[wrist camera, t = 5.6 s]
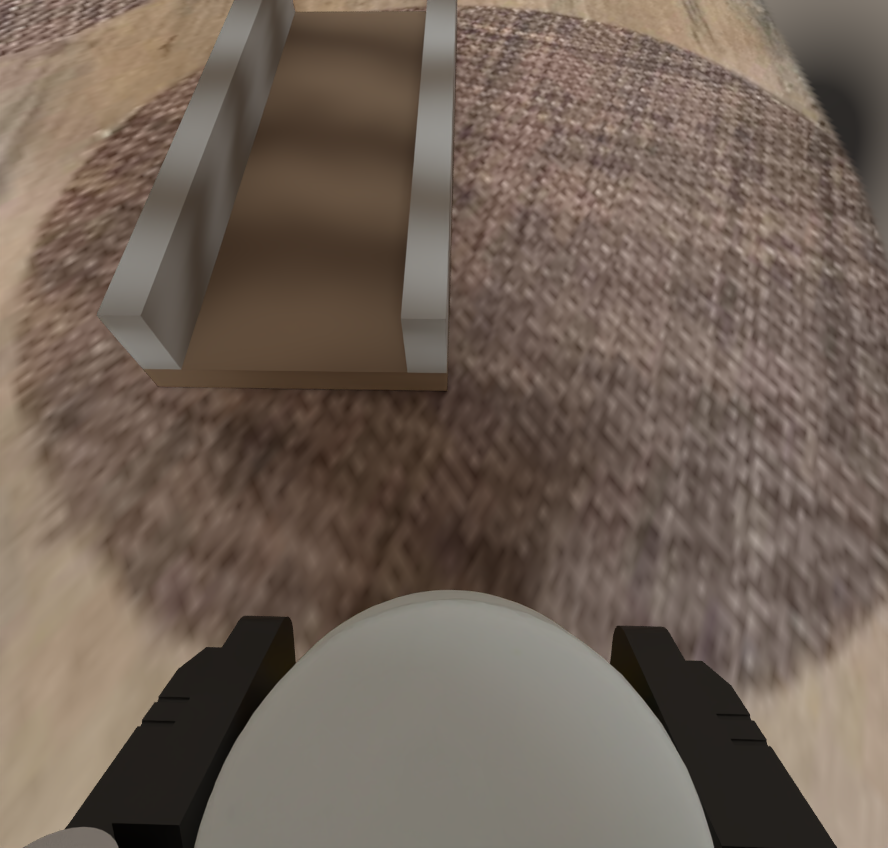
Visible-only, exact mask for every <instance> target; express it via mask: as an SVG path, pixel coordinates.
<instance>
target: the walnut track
mask: <svg viewBox="0 0 888 848" xmlns="http://www.w3.org/2000/svg"><path fill="white" fill-rule="evenodd" d="M456 51H457V0H427V10H426V11H395V12H295V9H294V4H293V0H234V2H233V4H232V6H231V9H230V11H229V13H228V16H227V18H226V20H225V22H224V25H223V27H222V29H221V32H220V34H219V36H218V39H217V41H216V43H215V45H214V48H213V50H212V52H211V55H210V57H209V59H208V61H207V64H206V66H205V68H204V71H203V73H202V75H201V77H200V80H199V82H198V84H197V87H196V89H195V91H194V93H193V96H192V98H191V100H190V103H189V105H188V107H187V109H186V112H185V114H184V116H183V119H182V121H181V123H180V125H179V128H178V130H177V132H176V135H175V137H174V139H173V141H172V144H171V146H170V148H169V151H168V153H167V155H166V157H165V160H164V162H163V164H162V167H161V169H160V171H159V173H158V176H157V178H156V180H155V183H154V185H153V187H152V189H151V192H150V194H149V196H148V199H147V201H146V203H145V205H144V208H143V210H142V212H141V215H140V217H139V219H138V221H137V224H136V226H135V228H134V231H133V233H132V235H131V237H130V240H129V242H128V244H127V247H126V249H125V251H124V253H123V256H122V258H121V260H120V263H119V265H118V267H117V269H116V272H115V274H114V276H113V279H112V281H111V283H110V285H109V288H108V290H107V292H106V295H105V297H104V299H103V301H102V304H101V306H100V308H99V311H98V313H97V317H98V318H99V319H100V320H101V321H102V322H103V323H104V325H105V326H106V327H107V328H108V329H109V330H110V332H111V333H112V334H113V335H114V336H115V337H116V338H117V340H118V341H119V342H120V343H121V344H122V345H123V347H124V348H125V349H126V350H127V351H128V352H129V354H130V355H131V356H132V357H133V358H134V359H135V360H136V362H137V363H138V364H139V365H140V366H141V367H142V369H143V370H144V371H145V372H146V373H147V374H148V375H149V377H150V378H151V379H152V380H153V381H154V382H155V384H156V385H157V386H158V387H214V388H284V389H354V390H424V391H447V381H448V344H449V307H450V271H451V234H452V198H453V161H454V124H455V88H456Z"/></svg>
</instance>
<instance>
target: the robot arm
mask: <svg viewBox="0 0 888 848" xmlns="http://www.w3.org/2000/svg"><path fill="white" fill-rule="evenodd" d="M295 664H296V661H295V649H294V636H293V626H292V622H291V619H290V618H289V617H276V616H243V617H242V618H241V619H240V620H239V621H238V623H237V625H236V626H235V628H234V629H233V631H232V632H231V634H230V636H229V637H228V639H227V640H226V642H225V644H224V645H223V647H222V648H219V647H206V648H205V649H203V650H202V651H201V652H200V653H198V654H197V655H196V656H194V657H193V658H192V659H191V660H189V661H188V662H187V663H185V664H184V665H183V666H182V667H180V668H179V669H178V670H177V671H176V673H175V674H174V676H173V677H172V678H171V680H170V681H169V683H168V684H167V686H166V687H165V688H164V690H163V691H162V693H161V694H160V695H159V699H158V702H155V703H154V704H153V705H152V707H151V708H150V710H149V711H148V712H147V714H146V715H145V717H144V718H143V720H142V724H141V726H138V727H137V728H136V729H135V731H134V732H133V734H132V735H131V737H130V738H129V739H128V741H127V742H126V744H125V745H124V746H123V748H122V749H121V751H120V752H119V754H118V755H117V756H116V758H115V759H114V761H113V762H112V763H111V765H110V766H109V768H108V769H107V770H106V772H105V773H104V775H103V776H102V778H101V779H100V780H99V782H98V783H97V785H96V786H95V787H94V789H93V790H92V792H91V793H90V795H89V796H88V797H87V799H86V800H85V802H84V803H83V804H82V806H81V807H80V809H79V810H78V812H77V813H76V814H75V816H74V817H73V819H72V820H71V821H70V823H69V824H68V826H67V827H66V828H65V829H64V830H61V831H58V832H55V833H52V834H49V835H46V836H44V837H42V838H40V839H38V840H36V841H34V842H32V843H30V844H29V845H27V846H25V847H24V848H194V846H195V842H196V838H197V834H198V831H199V827H200V824H201V821H202V818H203V815H204V812H205V809H206V806H207V803H208V800H209V798H210V795H211V793H212V791H213V788H214V785H215V782H216V780H217V778H218V776H219V773H220V771H221V769H222V767H223V764H224V762H225V760H226V758H227V756H228V755H229V753H230V751H231V749H232V747H233V745H234V743H235V741H236V740H237V738H238V737H239V735H240V734H241V732H242V731H243V729H244V728H245V726H246V724H247V723H248V721H249V720H250V718H251V716H252V715H253V713H254V712H255V710H256V709H257V708H258V707H259V705H260V704H261V703H262V701H263V700H264V699H265V698H266V696H267V695H268V694H269V693H270V691H271V690H272V689H273V688H274V687H275V685H276V684H277V683H278V682H279V681H280V680H281V679H282V678H283V677H284V676H285V675H286V673H287V672H288V671H289V670H290V669H291V668H292V667H293V666H294V665H295ZM610 665H612V666H613V667H614V668H615V669H616V670H617V671H618V672H619V673H621V674H622V675H623V676H624V678H625V679H626V680H627V681H628V682H629V683H630V685H631V686H632V687H633V688H634V689H635V690H636V692H637V693H638V694H639V695H640V696H641V697H642V699H643V700H644V701H645V703H646V704H647V705H648V707H649V708H650V709H651V710H652V712H653V713H654V714H655V716H656V717H657V718H658V720H659V721H660V722H661V723H662V725H663V727H664V729H665V730H666V732H667V734H668V735H669V737H670V739H671V741H672V743H673V744H674V746H675V748H676V750H677V752H678V753H679V755H680V757H681V759H682V761H683V762H684V764H685V766H686V768H687V770H688V772H689V775H690V777H691V780H692V782H693V785H694V787H695V789H696V792H697V794H698V797H699V800H700V803H701V805H702V808H703V811H704V815H705V818H706V821H707V824H708V827H709V831H710V834H711V837H712V841H713V845H714V848H837V847H836V845H835V844H834V842H833V841H832V839H831V838H830V836H829V835H828V833H827V832H826V830H825V829H824V827H823V825H822V824H821V822H820V821H819V819H818V818H817V816H816V815H815V813H814V812H813V810H812V809H811V807H810V806H809V804H808V802H807V801H806V799H805V798H804V796H803V795H802V793H801V792H800V790H799V789H798V787H797V786H796V784H795V783H794V781H793V780H792V778H791V776H790V775H789V773H788V772H787V770H786V769H785V767H784V766H783V764H782V763H781V761H780V760H779V758H778V757H777V755H776V754H775V752H774V750H773V749H772V747H770V746H768V745H767V742H766V738H765V737H764V735H763V734H762V732H761V731H760V729H759V728H758V726H757V724H756V723H755V721H751V719H750V714H749V712H748V711H747V709H746V708H745V706H744V705H743V703H742V701H741V700H740V698H739V697H738V695H737V694H736V692H735V691H734V689H733V688H732V686H731V685H730V684H729V683H728V682H726V681H725V680H724V679H723V678H722V677H720V676H719V675H718V674H717V673H716V672H714V671H713V670H712V669H711V668H710V667H709V666H707V665H706V664H705V663H704V662H703V661H685V659H684V657H683V656H682V654H681V652H680V651H679V649H678V647H677V645H676V644H675V642H674V640H673V638H672V637H671V635H670V633H669V632H668V630H667V629H666V628H664V627H651V626H617V627H616V628H615V631H614V634H613V642H612V651H611V660H610Z"/></svg>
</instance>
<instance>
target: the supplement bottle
mask: <svg viewBox="0 0 888 848" xmlns="http://www.w3.org/2000/svg"><path fill="white" fill-rule="evenodd" d="M194 848H714V845H713V841H712V837H711V834H710V831H709V827H708V824H707V821H706V818H705V815H704V811H703V808H702V805H701V803H700V800H699V797H698V794H697V792H696V789H695V787H694V785H693V782H692V780H691V777H690V775H689V772H688V770H687V768H686V766H685V764H684V762H683V761H682V759H681V757H680V755H679V753H678V752H677V750H676V748H675V746H674V744H673V743H672V741H671V739H670V737H669V735H668V734H667V732H666V730H665V729H664V727H663V725H662V723H661V722H660V721H659V720H658V718H657V717H656V716H655V714H654V713H653V712H652V710H651V709H650V708H649V707H648V705H647V704H646V703H645V701H644V700H643V699H642V697H641V696H640V695H639V694H638V693H637V692H636V690H635V689H634V688H633V687H632V686H631V685H630V683H629V682H628V681H627V680H626V679H625V678H624V676H623V675H622V674H621V673H619V672H618V671H617V670H616V669H615V668H614V667H613V666H612V665H610V664H609V663H608V662H607V661H606V660H605V659H604V658H602V657H601V656H600V655H599V654H598V653H596V652H595V651H594V650H593V649H591V648H590V647H589V646H588V645H586V644H585V643H584V642H582V641H581V640H579V639H578V638H576V637H575V636H573V635H572V634H571V633H569V632H568V631H566V630H565V629H564V628H562V627H561V626H559V625H558V624H557V623H555V622H554V621H552V620H551V619H549V618H547V617H545V616H544V615H542V614H540V613H538V612H537V611H535V610H533V609H530V608H528V607H526V606H524V605H521V604H519V603H517V602H514V601H510V600H507V599H504V598H501V597H498V596H494V595H490V594H486V593H480V592H474V591H463V590H434V591H426V592H419V593H413V594H409V595H405V596H401V597H397V598H394V599H391V600H389V601H386V602H383V603H380V604H378V605H375V606H372V607H370V608H368V609H366V610H364V611H362V612H360V613H358V614H357V615H355V616H353V617H352V618H350V619H348V620H347V621H345V622H343V623H342V624H340V625H339V626H337V627H336V628H334V629H333V630H331V631H330V632H329V633H328V634H327V635H325V636H324V637H323V638H322V639H320V640H319V641H318V642H317V643H316V644H315V645H314V646H313V647H312V648H311V649H310V650H309V651H308V652H307V653H306V654H305V655H304V656H303V657H302V658H300V659H299V661H298V662H297V663H296V664H295V665H294V666H293V667H292V668H291V669H290V670H289V671H288V672H287V673H286V675H285V676H284V677H283V678H282V679H281V680H280V681H279V682H278V683H277V684H276V685H275V687H274V688H273V689H272V690H271V691H270V693H269V694H268V695H267V696H266V698H265V699H264V700H263V701H262V703H261V704H260V705H259V707H258V708H257V709H256V710H255V712H254V713H253V715H252V716H251V718H250V720H249V721H248V723H247V724H246V726H245V728H244V729H243V731H242V732H241V734H240V735H239V737H238V738H237V740H236V741H235V743H234V745H233V747H232V749H231V751H230V753H229V755H228V756H227V758H226V760H225V762H224V764H223V767H222V769H221V771H220V773H219V776H218V778H217V780H216V782H215V785H214V788H213V791H212V793H211V795H210V798H209V800H208V803H207V806H206V809H205V812H204V815H203V818H202V821H201V824H200V827H199V831H198V834H197V838H196V842H195V846H194Z"/></svg>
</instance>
